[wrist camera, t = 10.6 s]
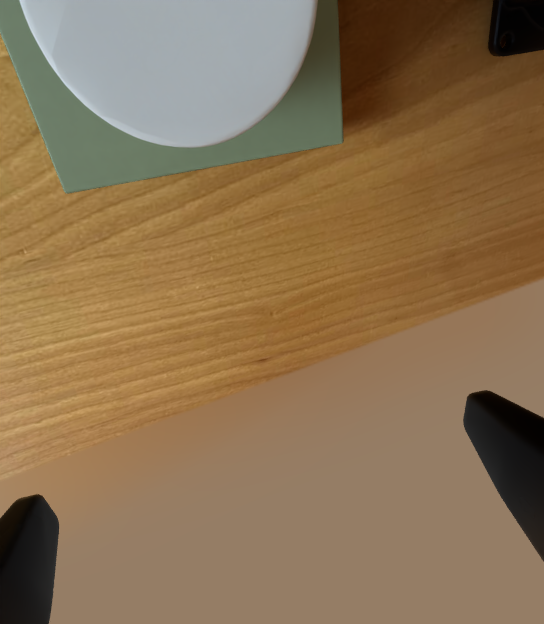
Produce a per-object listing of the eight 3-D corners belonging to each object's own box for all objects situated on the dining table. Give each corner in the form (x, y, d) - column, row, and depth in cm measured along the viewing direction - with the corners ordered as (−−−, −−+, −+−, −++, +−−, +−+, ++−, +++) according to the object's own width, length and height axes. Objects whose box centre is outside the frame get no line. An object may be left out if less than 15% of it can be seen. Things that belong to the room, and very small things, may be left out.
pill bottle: (252, 124, 14) (319, 187, 7) (106, 109, 13) (16, 166, 6) (267, -57, 12) (387, -225, 5) (90, -91, 11) (-82, -363, 4)
